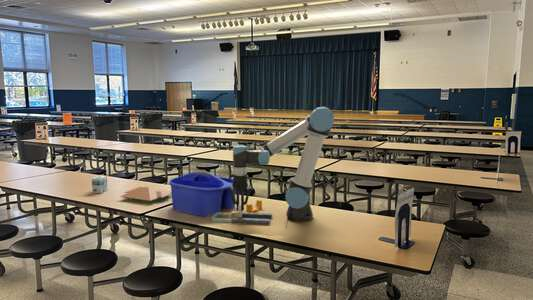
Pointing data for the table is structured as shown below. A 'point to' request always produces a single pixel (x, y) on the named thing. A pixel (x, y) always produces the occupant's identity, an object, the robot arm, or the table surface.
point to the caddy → (201, 193)
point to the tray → (219, 218)
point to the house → (146, 194)
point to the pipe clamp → (256, 208)
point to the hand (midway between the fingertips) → (240, 216)
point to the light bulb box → (99, 184)
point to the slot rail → (254, 218)
